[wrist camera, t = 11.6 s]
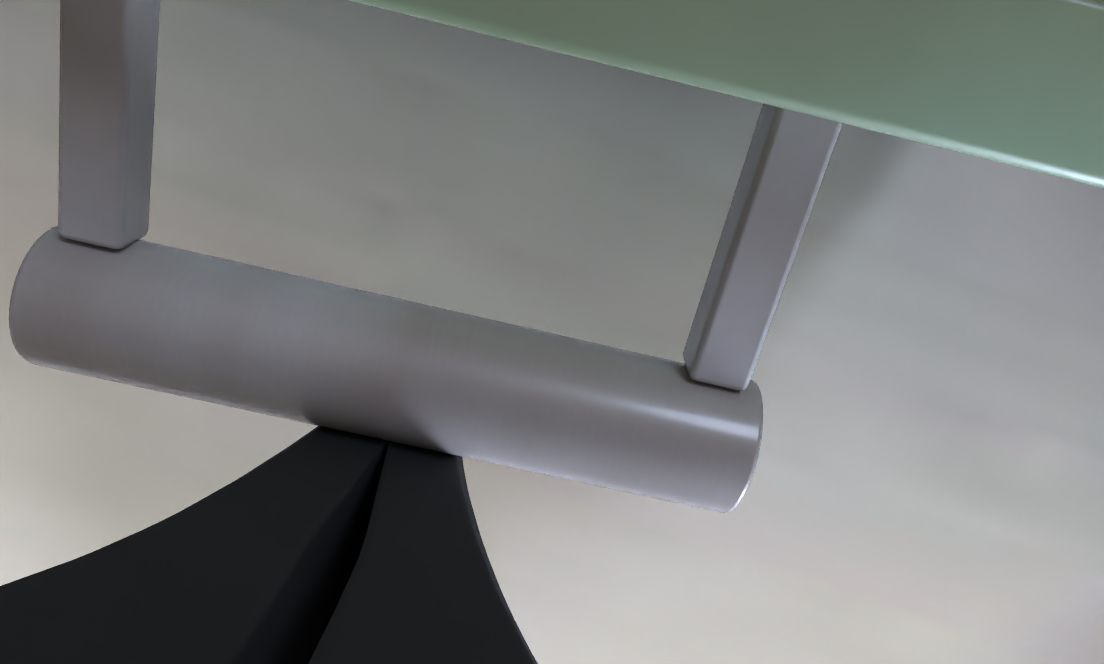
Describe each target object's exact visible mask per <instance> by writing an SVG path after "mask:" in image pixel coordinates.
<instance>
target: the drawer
mask: <svg viewBox="0 0 1104 664" xmlns="http://www.w3.org/2000/svg"><path fill="white" fill-rule="evenodd" d="M348 1H352V2H357V3H361V4H365V5H369V6H373V7H377V8H381V9H385V10H389V11H393V12H397V13H401V14H405V15H409V16H413V17H417V18H421V19H425V20H429V21H433V22H437V23H441V24H445V25H449V26H453V27H457V28H461V29H465V30H469V31H473V32H477V33H481V34H485V35H489V36H493V37H497V38H501V39H506V40H510V41H514V42H518V43H522V44H526V45H530V46H534V47H538V48H542V49H546V50H550V51H554V52H558V53H562V54H566V55H570V56H574V57H578V58H582V59H586V60H590V61H594V62H598V63H602V64H606V65H610V66H614V67H618V68H622V69H626V70H630V71H634V72H638V73H642V74H646V75H650V76H655V77H659V78H663V79H667V80H671V81H675V82H679V83H683V84H687V85H691V86H695V87H699V88H703V89H707V90H711V91H715V92H719V93H723V94H727V95H731V96H735V97H739V98H743V99H747V100H751V101H755V102H759V103H763V106H762V109H761V112H760V116H759V119H758V122H757V125H756V128H755V131H754V134H753V137H752V140H751V144H750V147H749V150H748V153H747V156H746V159H745V162H744V165H743V168H742V172H741V175H740V178H739V181H738V184H737V187H736V190H735V193H734V196H733V200H732V203H731V206H730V209H729V212H728V215H727V218H726V221H725V224H724V228H723V231H722V234H721V237H720V240H719V243H718V246H717V249H716V253H715V256H714V259H713V262H712V265H711V268H710V271H709V274H708V277H707V281H706V284H705V287H704V290H703V293H702V296H701V299H700V302H699V305H698V309H697V312H696V315H695V318H694V321H693V324H692V327H691V330H690V333H689V337H688V340H687V343H686V346H685V349H684V352H683V355H684V360H685V364H684V363H680V362H675V361H671V360H666V359H662V358H658V357H653V356H649V355H644V354H640V353H636V352H631V351H627V350H622V349H618V348H613V347H609V346H605V345H600V344H596V343H591V342H587V341H583V340H578V339H574V338H569V337H565V336H561V335H556V334H552V333H547V332H543V331H539V330H534V329H530V328H525V327H521V326H517V325H512V324H508V323H503V322H499V321H495V320H490V319H486V318H481V317H477V316H473V315H468V314H464V313H459V312H455V311H450V310H446V309H442V308H437V307H433V306H428V305H424V304H420V303H415V302H411V301H406V300H402V299H398V298H393V297H389V296H384V295H380V294H376V293H371V292H367V291H362V290H358V289H354V288H349V287H345V286H340V285H336V284H332V283H327V282H323V281H318V280H314V279H309V278H305V277H301V276H296V275H292V274H287V273H283V272H279V271H274V270H270V269H265V268H261V267H257V266H252V265H248V264H243V263H239V262H235V261H230V260H226V259H221V258H217V257H213V256H208V255H204V254H199V253H195V252H191V251H186V250H182V249H177V248H173V247H169V246H164V245H160V244H155V243H151V242H146V241H142V240H138V239H140V238H142V237H144V236H145V235H146V233H147V231H148V221H149V202H150V183H151V164H152V144H153V125H154V106H155V87H156V68H157V49H158V29H159V10H160V0H61V10H60V109H59V208H58V226H56V227H54V228H52V229H50V230H48V231H47V232H45V233H44V234H43V235H42V236H41V237H40V238H39V239H38V240H37V241H36V242H35V243H34V244H33V246H32V247H31V249H30V250H29V252H28V253H27V255H26V257H25V258H24V260H23V262H22V264H21V266H20V269H19V271H18V274H17V276H16V279H15V282H14V286H13V290H12V295H11V300H10V308H9V327H10V334H11V338H12V341H13V344H14V346H15V349H16V350H17V352H18V353H19V354H20V355H21V356H22V357H23V358H24V359H25V360H27V361H28V362H30V363H32V364H36V365H40V366H45V367H50V368H54V369H59V370H63V371H68V372H73V373H77V374H82V375H87V376H91V377H96V378H100V379H105V380H110V381H114V382H119V383H124V384H128V385H133V386H137V387H142V388H147V389H151V390H156V391H161V392H165V393H170V394H174V395H179V396H184V397H188V398H193V399H198V400H202V401H207V402H211V403H216V404H221V405H225V406H230V407H235V408H239V409H244V410H248V411H253V412H258V413H262V414H267V415H272V416H276V417H281V418H285V419H290V420H295V421H299V422H304V423H309V424H313V425H318V426H322V427H327V428H332V429H336V430H341V431H346V432H350V433H355V434H359V435H364V436H369V437H373V438H378V439H383V440H387V441H392V442H396V443H401V444H406V445H410V446H415V447H420V448H424V449H429V450H433V451H438V452H443V453H447V454H452V455H457V456H461V457H466V458H470V459H475V460H480V461H484V462H489V463H494V464H498V465H503V466H507V467H512V468H517V469H521V470H526V471H531V472H535V473H540V474H544V475H549V476H554V477H558V478H563V479H568V480H572V481H577V482H581V483H586V484H591V485H595V486H600V487H605V488H609V489H614V490H618V491H623V492H628V493H632V494H637V495H642V496H646V497H651V498H655V499H660V500H665V501H669V502H674V503H679V504H683V505H688V506H692V507H697V508H702V509H706V510H711V511H716V512H720V513H726V512H730V511H732V510H733V509H735V508H736V507H737V506H738V504H739V503H740V501H741V500H742V498H743V496H744V495H745V493H746V491H747V488H748V486H749V484H750V481H751V479H752V476H753V473H754V470H755V467H756V463H757V459H758V455H759V450H760V444H761V438H762V428H763V404H762V397H761V392H760V389H759V387H758V385H757V384H756V383H755V382H754V381H753V380H751V377H752V374H753V371H754V369H755V366H756V363H757V360H758V357H759V355H760V352H761V349H762V346H763V344H764V341H765V338H766V335H767V332H768V330H769V327H770V324H771V321H772V319H773V316H774V313H775V310H776V307H777V305H778V302H779V299H780V296H781V293H782V291H783V288H784V285H785V282H786V280H787V277H788V274H789V271H790V268H791V266H792V263H793V260H794V257H795V255H796V252H797V249H798V246H799V243H800V241H801V238H802V235H803V232H804V230H805V227H806V224H807V221H808V218H809V216H810V213H811V210H812V207H813V204H814V202H815V199H816V196H817V193H818V191H819V188H820V185H821V182H822V179H823V177H824V174H825V171H826V168H827V166H828V163H829V160H830V157H831V154H832V152H833V149H834V146H835V143H836V140H837V138H838V135H839V132H840V129H841V127H842V124H843V123H844V124H848V125H852V126H856V127H860V128H864V129H868V130H872V131H876V132H880V133H884V134H888V135H892V136H896V137H900V138H904V139H908V140H912V141H916V142H920V143H924V144H928V145H932V146H936V147H940V148H944V149H948V150H953V151H957V152H961V153H965V154H969V155H973V156H977V157H981V158H985V159H989V160H993V161H997V162H1001V163H1005V164H1009V165H1013V166H1017V167H1021V168H1025V169H1029V170H1033V171H1037V172H1041V173H1045V174H1049V175H1053V176H1057V177H1061V178H1065V179H1069V180H1073V181H1077V182H1081V183H1085V184H1089V185H1093V186H1097V187H1102V188H1104V0H348Z"/></svg>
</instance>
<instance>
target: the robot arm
mask: <svg viewBox="0 0 1104 664" xmlns="http://www.w3.org/2000/svg"><path fill="white" fill-rule="evenodd" d="M0 664H538V663H537V662H536V660H535V658H534V656H533V655H532V653H531V651H530V649H529V647H528V645H527V643H526V641H525V639H524V638H523V636H522V634H521V632H520V630H519V628H518V626H517V624H516V622H515V620H514V618H513V616H512V614H511V611H510V609H509V607H508V605H507V603H506V601H505V598H504V596H503V594H502V591H501V589H500V587H499V584H498V582H497V579H496V577H495V574H494V572H493V569H492V566H491V564H490V561H489V559H488V556H487V553H486V550H485V547H484V545H483V542H482V539H481V536H480V532H479V529H478V526H477V522H476V519H475V515H474V512H473V508H472V505H471V501H470V497H469V493H468V489H467V484H466V479H465V473H464V468H463V460H462V457H461V456H457V455H452V454H447V453H443V452H438V451H433V450H429V449H424V448H420V447H415V446H410V445H406V444H401V443H396V442H392V441H387V440H383V439H378V438H373V437H369V436H364V435H359V434H355V433H350V432H346V431H341V430H336V429H332V428H327V427H322V426H318V427H316V428H315V429H314V430H312V431H311V432H309V433H308V434H306V435H305V436H304V437H302V438H301V439H299V440H298V441H296V442H295V443H293V444H292V445H290V446H289V447H287V448H286V449H284V450H283V451H281V452H280V453H278V454H277V455H275V456H273V457H272V458H270V459H269V460H267V461H266V462H264V463H263V464H261V465H259V466H258V467H256V468H255V469H253V470H252V471H250V472H248V473H247V474H245V475H244V476H242V477H240V478H239V479H237V480H235V481H234V482H232V483H230V484H229V485H227V486H225V487H223V488H222V489H220V490H218V491H216V492H214V493H213V494H211V495H209V496H207V497H205V498H204V499H202V500H200V501H198V502H197V503H195V504H193V505H191V506H189V507H188V508H186V509H184V510H182V511H181V512H179V513H177V514H175V515H173V516H171V517H169V518H167V519H165V520H163V521H161V522H159V523H156V524H154V525H152V526H150V527H148V528H146V529H144V530H142V531H140V532H137V533H135V534H133V535H130V536H128V537H126V538H124V539H121V540H119V541H117V542H114V543H112V544H110V545H108V546H105V547H103V548H101V549H99V550H96V551H94V552H92V553H89V554H87V555H84V556H82V557H79V558H77V559H74V560H72V561H69V562H66V563H63V564H61V565H58V566H55V567H52V568H49V569H47V570H44V571H41V572H38V573H36V574H33V575H30V576H27V577H24V578H22V579H19V580H16V581H13V582H11V583H8V584H5V585H2V586H0Z"/></svg>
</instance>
